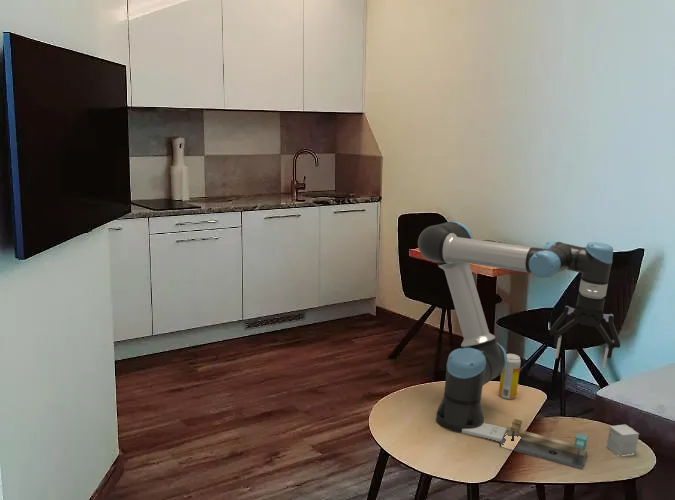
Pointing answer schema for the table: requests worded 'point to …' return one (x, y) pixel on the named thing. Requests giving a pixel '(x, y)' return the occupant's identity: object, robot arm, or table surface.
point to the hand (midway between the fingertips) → (579, 362)
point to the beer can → (510, 377)
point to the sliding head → (580, 442)
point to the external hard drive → (487, 431)
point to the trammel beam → (540, 438)
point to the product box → (622, 440)
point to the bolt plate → (549, 453)
